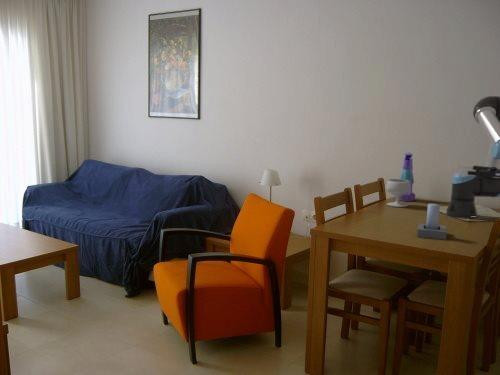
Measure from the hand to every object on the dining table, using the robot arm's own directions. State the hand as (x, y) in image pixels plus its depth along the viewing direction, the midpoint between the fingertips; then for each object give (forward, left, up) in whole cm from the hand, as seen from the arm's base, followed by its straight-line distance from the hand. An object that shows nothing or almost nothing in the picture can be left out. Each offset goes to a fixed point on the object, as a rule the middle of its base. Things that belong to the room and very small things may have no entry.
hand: (458, 170), depth 217 cm
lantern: (+24, -75, -29) cm, 84 cm away
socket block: (+10, +11, -29) cm, 32 cm away
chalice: (+28, -54, -29) cm, 68 cm away
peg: (+10, +11, -29) cm, 32 cm away
